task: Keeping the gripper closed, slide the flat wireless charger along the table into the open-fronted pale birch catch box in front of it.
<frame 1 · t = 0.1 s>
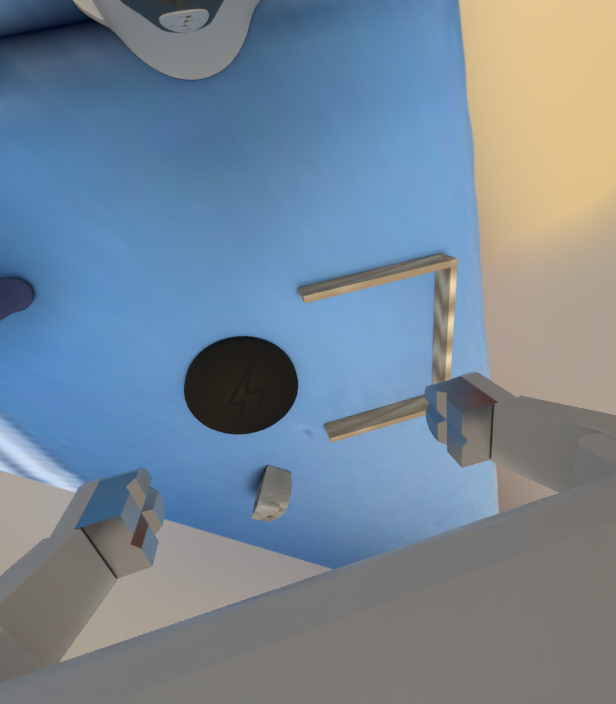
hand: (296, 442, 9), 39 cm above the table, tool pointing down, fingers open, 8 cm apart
catch box: (374, 350, 56), on the table
rubber mallet: (20, 289, 40), on the table
wireless charger: (242, 383, 54), on the table
mineral specimen: (268, 478, 65), on the table
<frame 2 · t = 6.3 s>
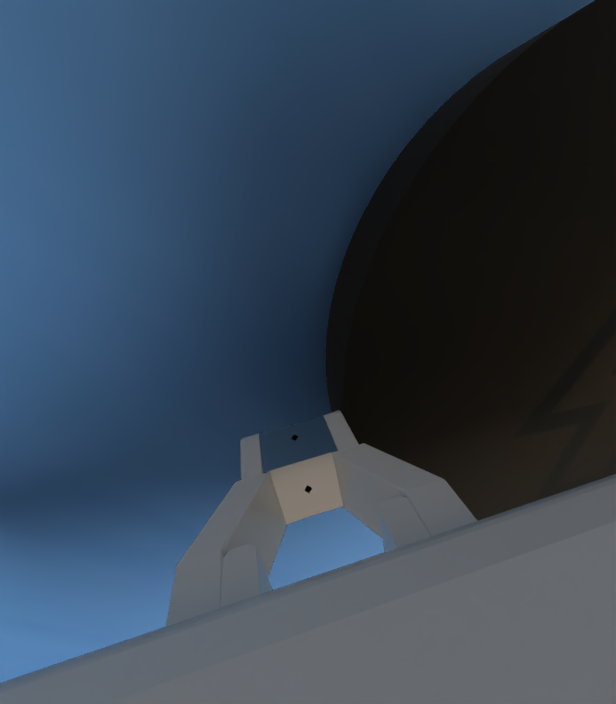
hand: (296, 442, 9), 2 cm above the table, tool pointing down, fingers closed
wireless charger: (555, 332, 12), on the table, touching gripper
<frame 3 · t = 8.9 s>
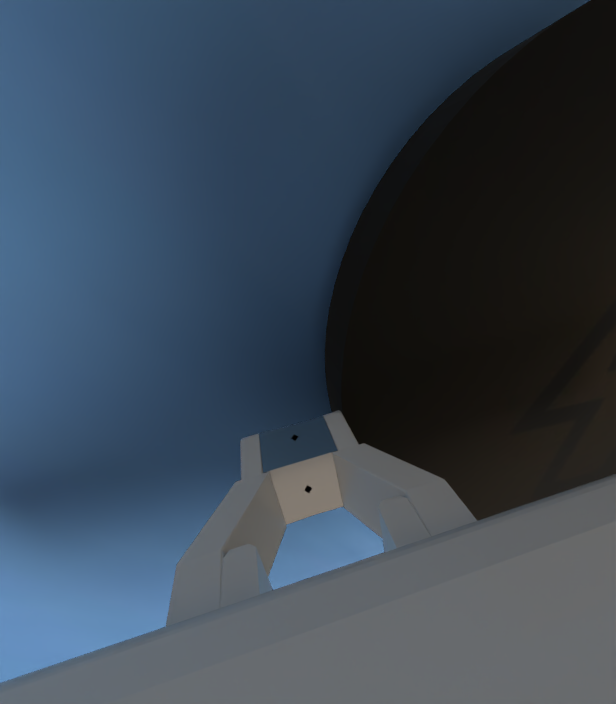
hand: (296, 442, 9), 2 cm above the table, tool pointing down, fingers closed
wireless charger: (551, 329, 12), on the table, touching gripper
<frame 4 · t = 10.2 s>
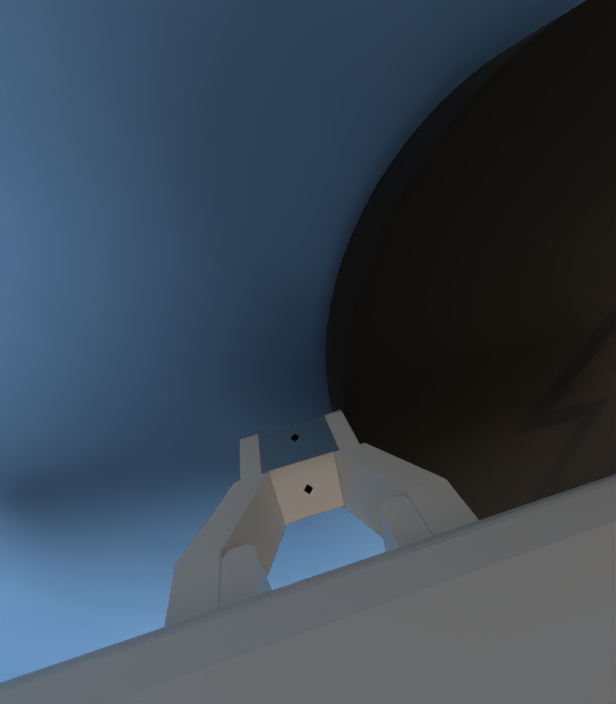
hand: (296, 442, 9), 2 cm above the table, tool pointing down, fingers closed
wireless charger: (554, 328, 12), on the table, touching gripper
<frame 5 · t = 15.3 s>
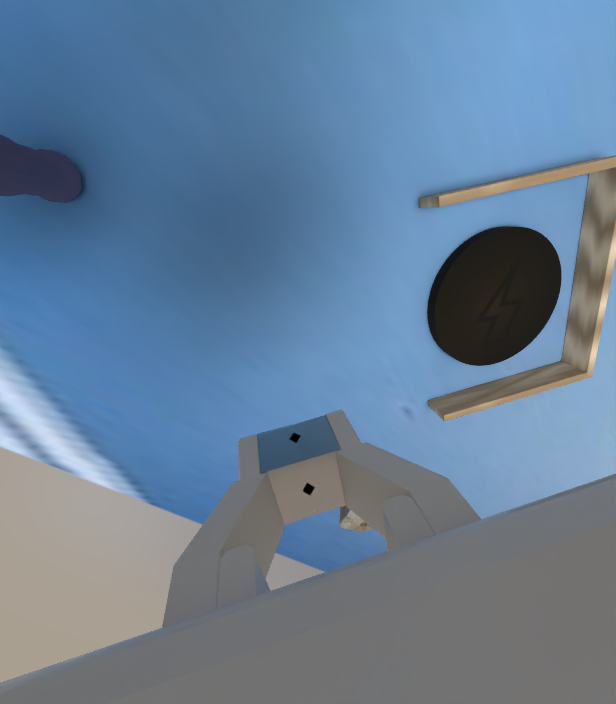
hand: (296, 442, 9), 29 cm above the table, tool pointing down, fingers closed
catch box: (501, 296, 43), on the table
rubber mallet: (64, 179, 29), on the table
wireless charger: (487, 297, 43), on the table
mineral specimen: (352, 476, 50), on the table
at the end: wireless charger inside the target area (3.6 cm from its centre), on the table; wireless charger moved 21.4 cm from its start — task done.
